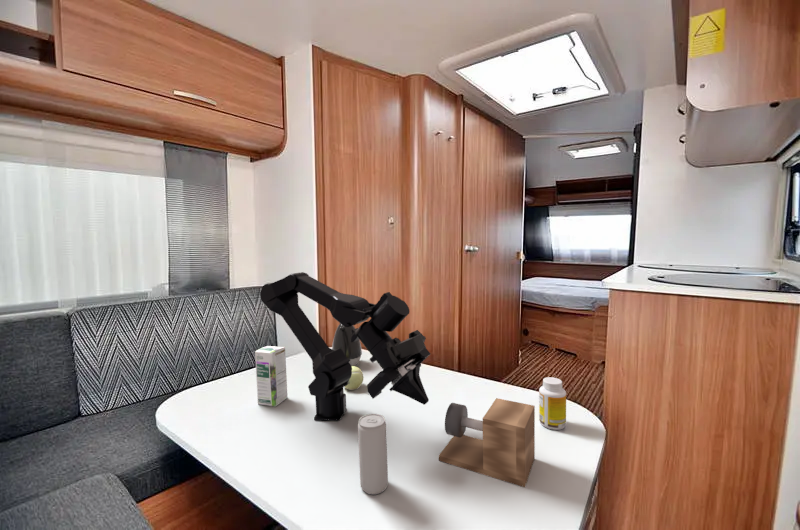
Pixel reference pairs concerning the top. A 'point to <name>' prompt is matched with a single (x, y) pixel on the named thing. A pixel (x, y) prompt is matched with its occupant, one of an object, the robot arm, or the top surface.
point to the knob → (460, 420)
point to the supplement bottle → (552, 404)
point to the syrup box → (271, 375)
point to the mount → (498, 444)
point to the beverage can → (373, 453)
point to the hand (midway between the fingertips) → (426, 402)
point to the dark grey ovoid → (347, 344)
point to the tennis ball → (355, 379)
